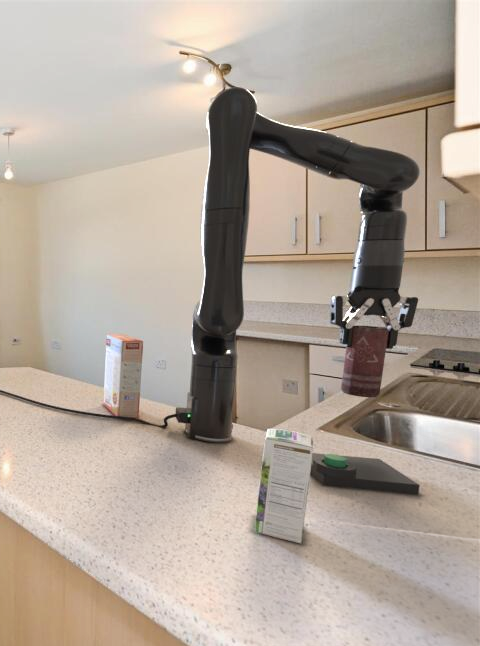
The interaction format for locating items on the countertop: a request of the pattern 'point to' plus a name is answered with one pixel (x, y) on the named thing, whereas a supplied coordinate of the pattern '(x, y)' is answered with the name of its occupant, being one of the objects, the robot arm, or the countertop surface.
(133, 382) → the cracker box
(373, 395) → the can
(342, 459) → the tare button
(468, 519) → the countertop surface
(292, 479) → the syrup box
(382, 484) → the scale
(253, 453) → the countertop surface
